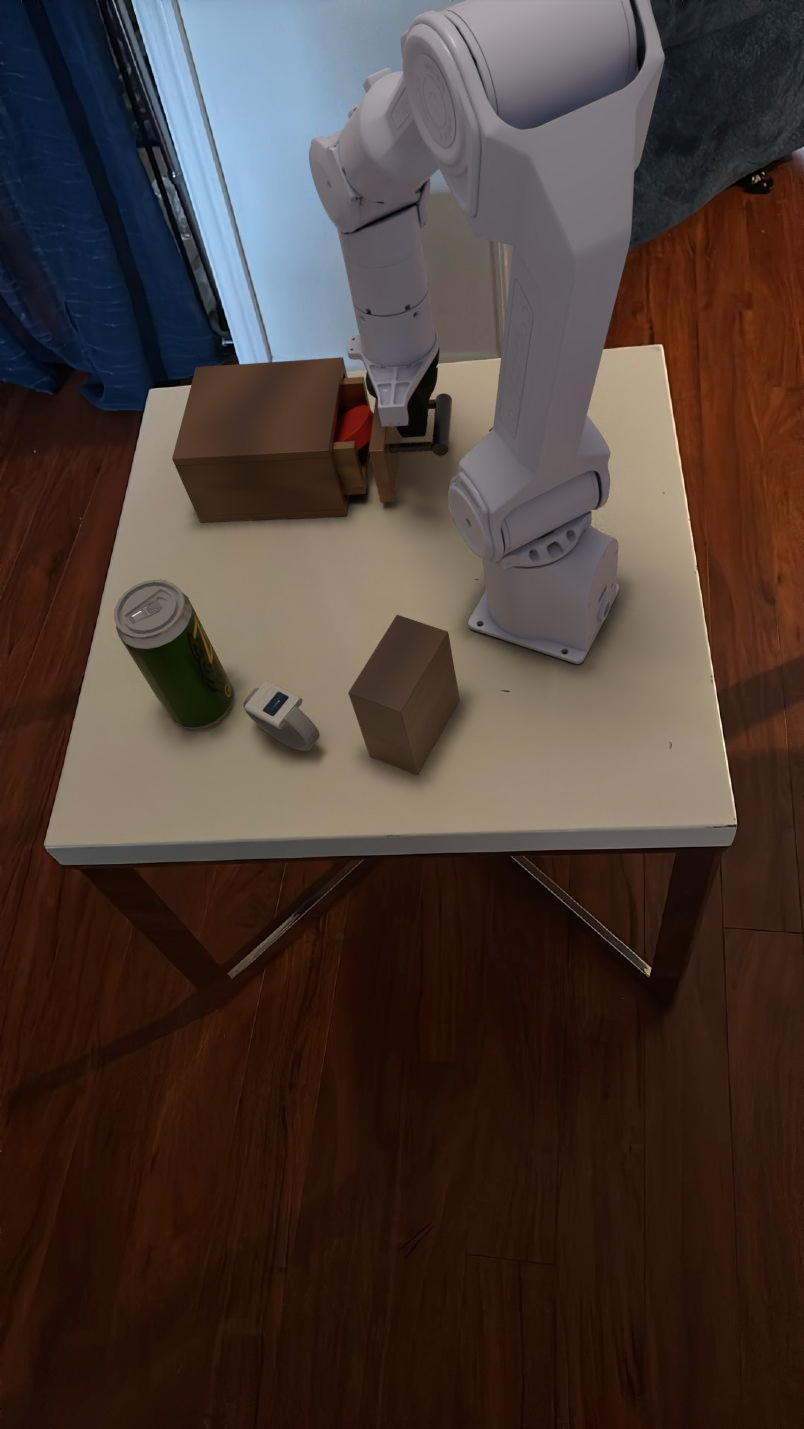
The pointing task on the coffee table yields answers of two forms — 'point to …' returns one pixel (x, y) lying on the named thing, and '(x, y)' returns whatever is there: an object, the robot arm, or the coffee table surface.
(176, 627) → the beer can
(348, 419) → the lid
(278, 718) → the wristwatch
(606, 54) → the robot arm
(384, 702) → the stand
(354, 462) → the drawer
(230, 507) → the cabinet
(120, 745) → the coffee table surface
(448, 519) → the coffee table surface
